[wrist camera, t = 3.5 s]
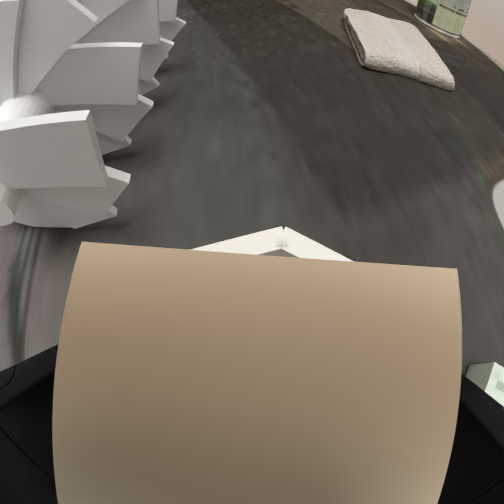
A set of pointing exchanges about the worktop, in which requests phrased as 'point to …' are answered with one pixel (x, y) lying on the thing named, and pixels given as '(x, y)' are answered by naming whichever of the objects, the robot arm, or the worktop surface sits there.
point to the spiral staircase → (73, 102)
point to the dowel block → (254, 379)
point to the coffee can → (443, 15)
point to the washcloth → (395, 48)
